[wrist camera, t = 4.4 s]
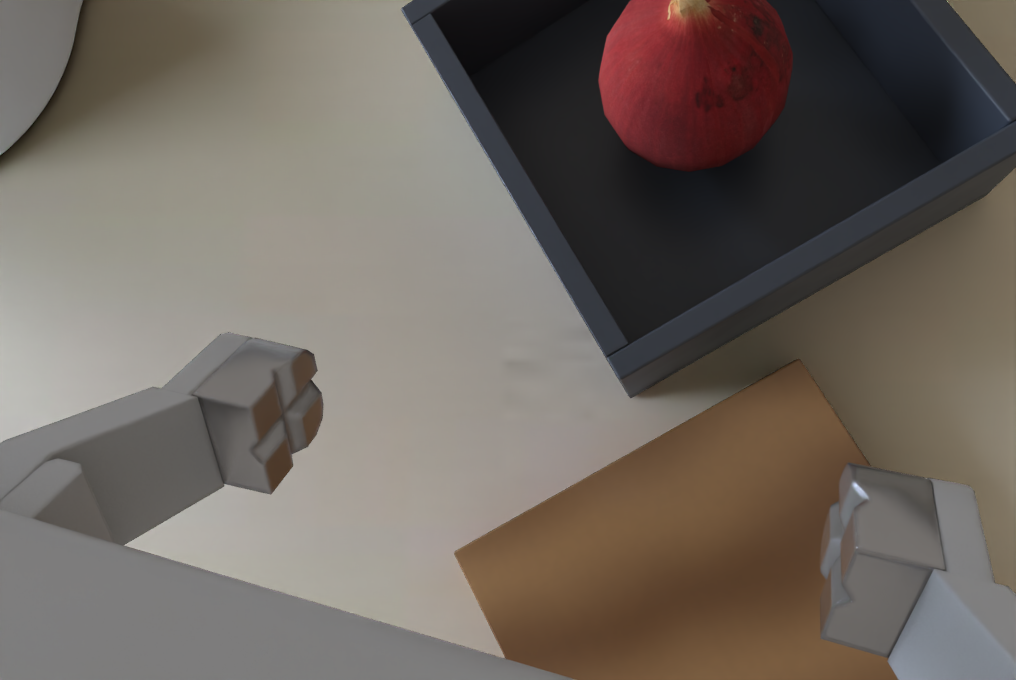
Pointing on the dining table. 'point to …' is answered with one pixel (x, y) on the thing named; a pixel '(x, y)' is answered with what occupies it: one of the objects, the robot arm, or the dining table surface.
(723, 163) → the red pomegranate
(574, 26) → the tub
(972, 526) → the robot arm
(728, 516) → the cutting board
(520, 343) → the dining table surface
